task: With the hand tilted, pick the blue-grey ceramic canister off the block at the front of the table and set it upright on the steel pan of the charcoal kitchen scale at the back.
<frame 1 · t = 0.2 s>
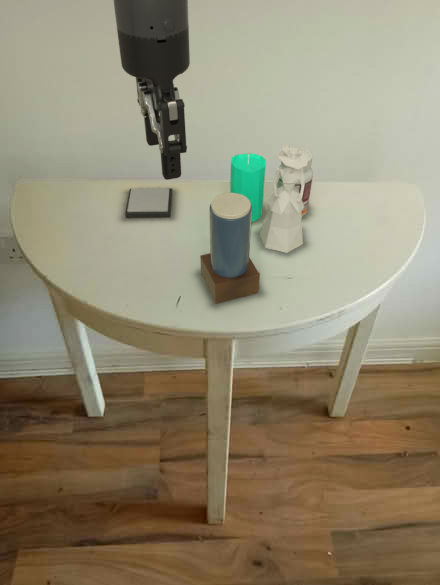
hand: (163, 159, 64), 21 cm above the table, tool pointing down, fingers open, 8 cm apart
figurine: (281, 239, 87), on the table
pill bottle: (290, 210, 92), on the table
candle: (246, 213, 92), on the table
block: (229, 283, 78), on the table
canister: (229, 264, 76), point 4 cm above the table, touching block
scale: (149, 204, 93), on the table
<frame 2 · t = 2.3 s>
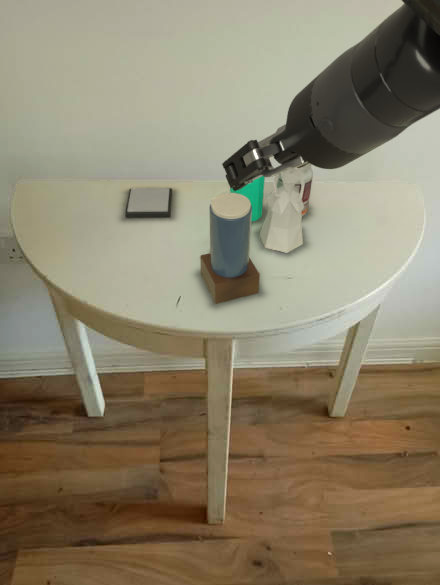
hand: (264, 170, 55), 25 cm above the table, tool tilted 45°, fingers open, 8 cm apart
nothing on the table moved.
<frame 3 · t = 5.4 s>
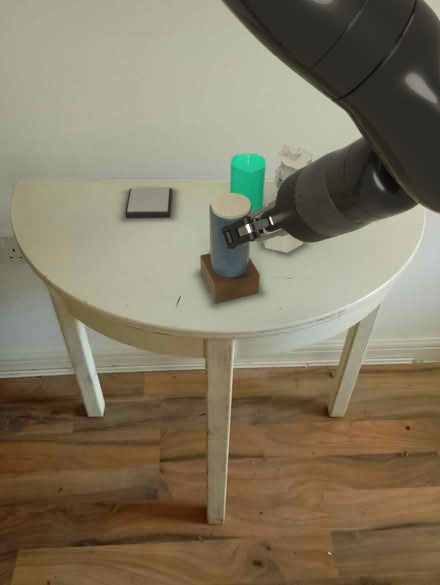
hand: (259, 228, 63), 16 cm above the table, tool tilted 45°, fingers open, 8 cm apart
nothing on the table moved.
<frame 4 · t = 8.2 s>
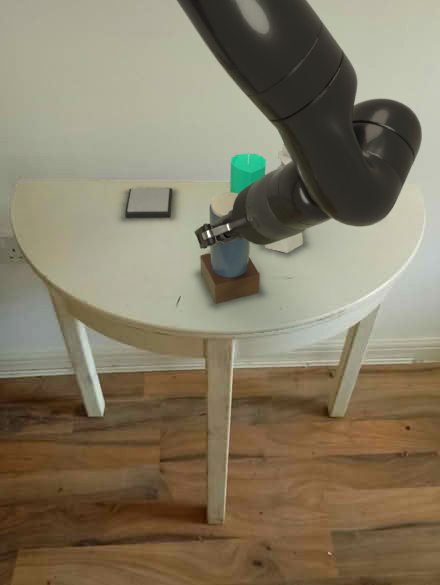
hand: (223, 232, 73), 9 cm above the table, tool tilted 45°, fingers closed on canister, 6 cm apart
canister: (229, 264, 76), point 4 cm above the table, touching gripper, block
everything else where it was.
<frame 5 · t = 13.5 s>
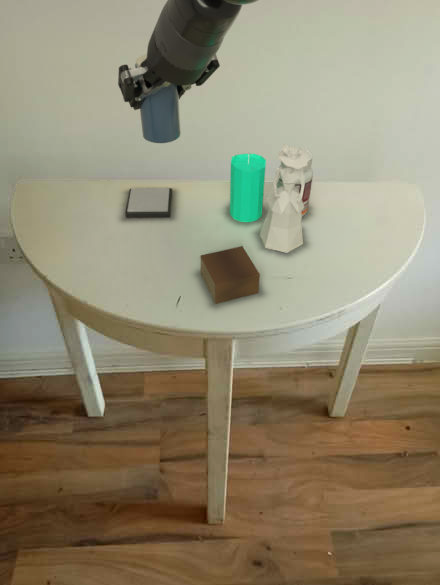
hand: (154, 98, 75), 22 cm above the table, tool tilted 45°, fingers closed on canister, 6 cm apart
canister: (161, 134, 77), point 17 cm above the table, touching gripper
everything else where it was.
when the fingers open (6 cm above the table, at t = 19.2 s): canister stays where it is, resting on scale.
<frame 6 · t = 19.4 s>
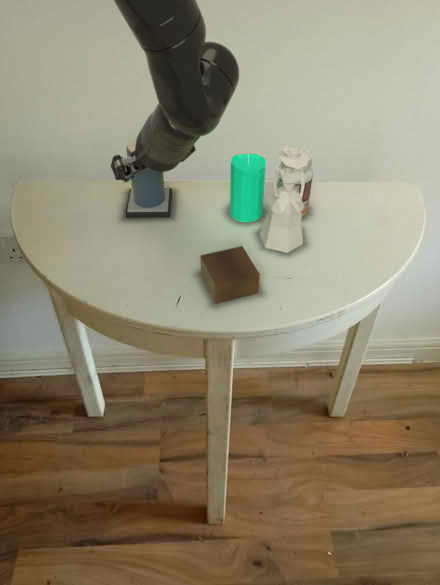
hand: (142, 171, 90), 6 cm above the table, tool tilted 45°, fingers open, 6 cm apart
canister: (149, 198, 92), point 1 cm above the table, touching scale
everything else where it was.
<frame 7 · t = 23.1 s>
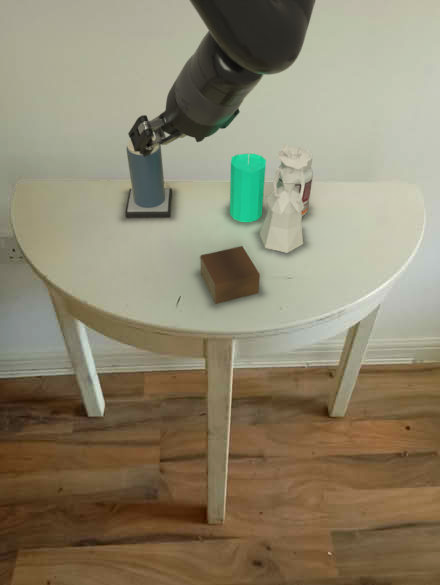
hand: (170, 142, 73), 18 cm above the table, tool tilted 45°, fingers open, 8 cm apart
nothing on the table moved.
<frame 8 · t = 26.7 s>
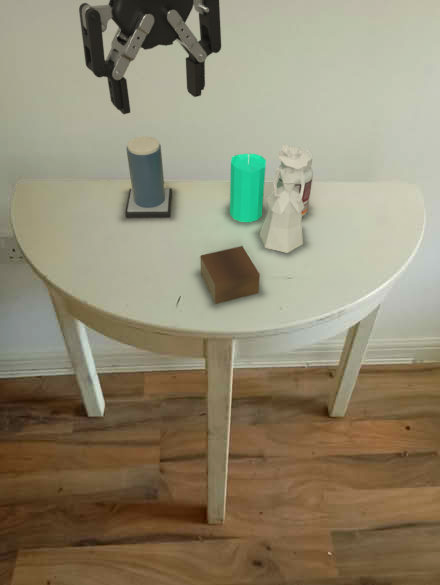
hand: (159, 102, 55), 30 cm above the table, tool pointing down, fingers open, 8 cm apart
nothing on the table moved.
at the end: canister 0.1 cm off-centre on the scale, point 1.4 cm above the scale's base; canister tilted 0°; the gripper is holding nothing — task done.
